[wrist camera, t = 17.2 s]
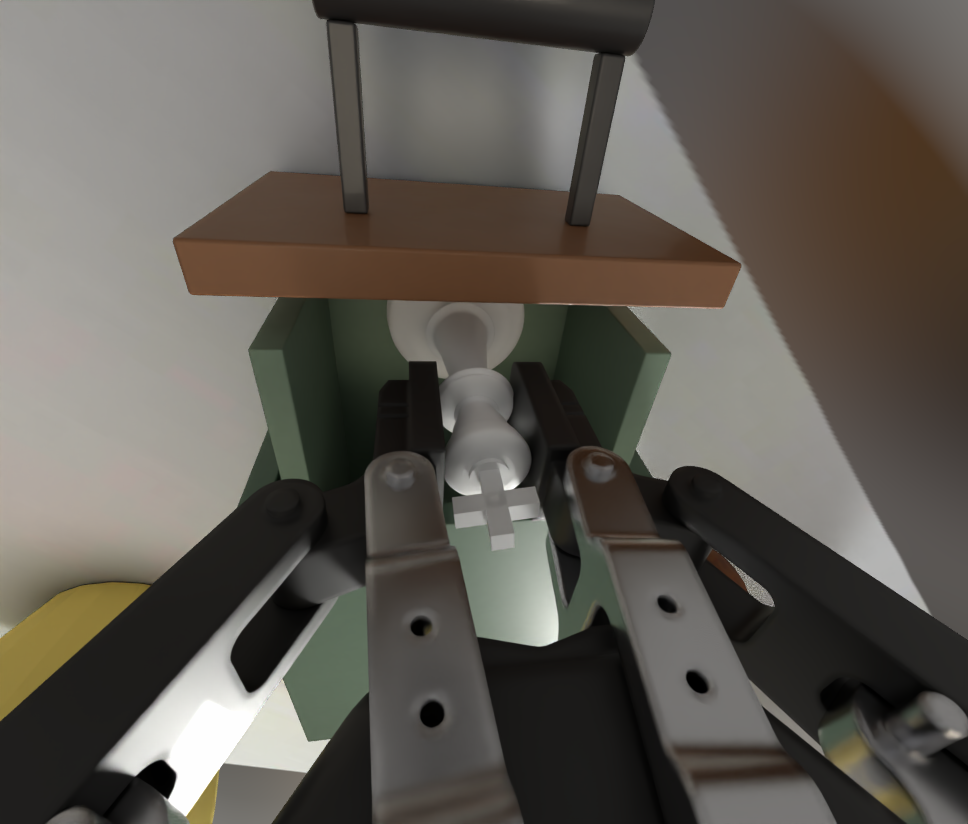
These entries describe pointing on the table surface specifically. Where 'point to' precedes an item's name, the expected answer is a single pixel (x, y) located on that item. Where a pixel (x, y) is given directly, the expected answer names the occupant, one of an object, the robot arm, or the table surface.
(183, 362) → the table surface
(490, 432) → the chess piece
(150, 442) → the table surface
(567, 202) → the drawer
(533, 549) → the cabinet
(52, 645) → the vase
